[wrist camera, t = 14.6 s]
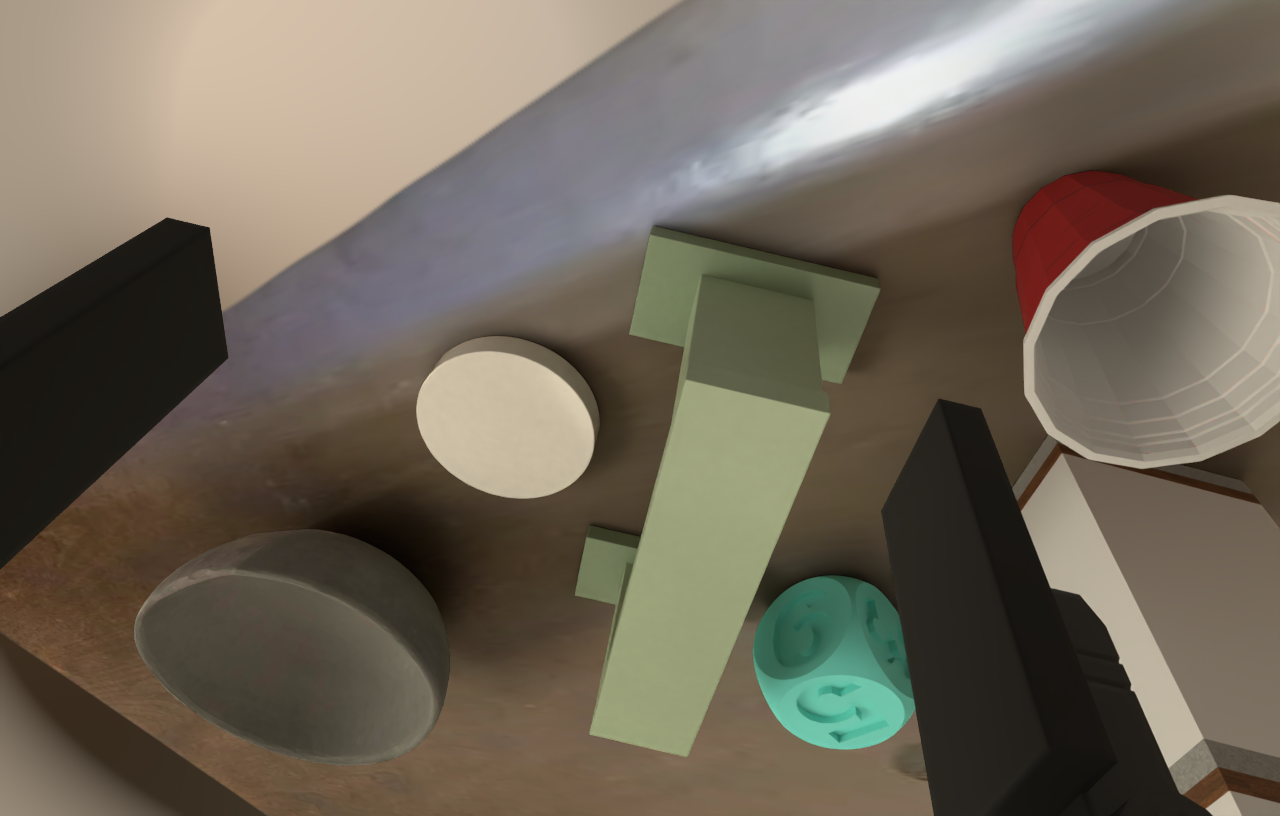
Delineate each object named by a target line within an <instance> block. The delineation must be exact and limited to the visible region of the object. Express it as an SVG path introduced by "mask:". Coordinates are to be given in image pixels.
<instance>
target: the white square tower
mask: <svg viewBox="0 0 1280 816" xmlns="http://www.w3.org/2000/svg"><path fill="white" fill-rule="evenodd" d="M1012 490H1013V492H1014V495H1015V497H1016V500H1017V503H1018V505H1019V508H1020V510H1021V513H1022V516H1023V518H1024V521H1025V523H1026V526H1027V528H1028V531H1029V534H1030V536H1031V539H1032V541H1033V544H1034V547H1035V549H1036V552H1037V554H1038V557H1039V559H1040V562H1041V565H1042V567H1043V570H1044V572H1045V575H1046V578H1047V580H1048V583H1049V585H1050V588H1053V589H1058V590H1062V591H1066V592H1070V593H1075V594H1079V595H1080V596H1081V597H1082V598H1083V599H1084V600H1085V602H1086V603H1087V604H1088V605H1089V606H1090V608H1091V609H1092V610H1093V611H1094V612H1095V614H1096V615H1097V616H1098V617H1099V618H1100V620H1101V621H1102V622H1103V623H1104V624H1105V626H1106V627H1107V630H1108V632H1109V634H1110V637H1111V639H1112V641H1113V643H1114V646H1115V648H1116V650H1117V652H1118V655H1119V657H1120V659H1119V664H1123V666H1124V668H1125V671H1126V673H1127V675H1128V677H1129V680H1130V682H1131V684H1132V685H1131V691H1135V693H1136V696H1137V698H1138V700H1139V702H1140V705H1141V707H1142V709H1143V712H1144V714H1145V716H1146V718H1147V721H1148V723H1149V725H1150V728H1151V730H1152V732H1153V734H1154V737H1155V739H1156V741H1157V743H1158V746H1159V748H1160V750H1161V753H1162V755H1163V757H1164V759H1165V762H1166V764H1167V766H1168V768H1169V771H1170V773H1171V775H1172V778H1173V780H1174V782H1175V784H1176V787H1177V789H1178V791H1179V793H1180V794H1183V795H1184V796H1186V797H1187V798H1189V799H1191V800H1192V801H1194V802H1195V803H1197V804H1198V805H1200V806H1202V807H1203V808H1205V809H1206V810H1208V811H1209V812H1210V813H1211V814H1212V815H1213V816H1280V529H1279V527H1278V526H1277V525H1276V523H1275V522H1274V521H1273V519H1272V518H1271V517H1270V515H1269V514H1268V513H1267V512H1266V510H1265V509H1264V508H1263V506H1262V505H1261V504H1260V502H1259V501H1258V500H1257V498H1256V497H1255V496H1254V495H1253V493H1252V492H1251V491H1250V489H1249V488H1248V487H1247V485H1246V484H1245V483H1244V481H1241V480H1237V479H1234V478H1230V477H1226V476H1222V475H1218V474H1214V473H1211V472H1207V471H1203V470H1199V469H1195V468H1192V467H1188V466H1184V465H1180V464H1175V465H1167V466H1160V467H1152V468H1145V469H1139V468H1134V467H1128V466H1122V465H1117V464H1111V463H1105V462H1100V461H1094V460H1088V459H1087V458H1085V457H1084V456H1082V455H1080V454H1079V453H1077V452H1076V451H1074V450H1072V449H1071V448H1069V447H1068V446H1066V445H1064V444H1063V443H1061V442H1060V441H1058V440H1056V439H1055V438H1053V437H1052V436H1050V435H1049V434H1048V436H1047V437H1046V439H1045V440H1044V442H1043V443H1042V445H1041V446H1040V448H1039V449H1038V451H1037V452H1036V454H1035V455H1034V457H1033V458H1032V460H1031V461H1030V462H1029V464H1028V465H1027V467H1026V468H1025V470H1024V471H1023V473H1022V474H1021V476H1020V477H1019V479H1018V480H1017V482H1016V483H1015V485H1014V486H1013V488H1012Z"/></svg>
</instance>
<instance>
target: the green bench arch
mask: <svg viewBox="0 0 1280 816" xmlns="http://www.w3.org/2000/svg"><path fill="white" fill-rule="evenodd" d="M880 290H881V287H880V283H879V279H878V278H873V277H869V276H865V275H861V274H856V273H852V272H848V271H844V270H839V269H835V268H831V267H827V266H822V265H818V264H814V263H810V262H805V261H801V260H797V259H793V258H788V257H784V256H780V255H776V254H771V253H767V252H763V251H758V250H754V249H750V248H746V247H741V246H737V245H733V244H729V243H724V242H720V241H716V240H712V239H707V238H703V237H699V236H695V235H690V234H686V233H682V232H678V231H673V230H669V229H665V228H660V227H656V226H653V227H652V230H651V233H650V237H649V242H648V247H647V252H646V256H645V261H644V266H643V271H642V275H641V280H640V285H639V290H638V294H637V299H636V304H635V309H634V313H633V318H632V323H631V328H630V332H629V334H630V335H634V336H638V337H643V338H647V339H651V340H655V341H660V342H664V343H668V344H672V345H677V346H681V347H684V352H683V358H682V364H681V369H680V375H679V381H678V387H677V393H676V399H675V405H674V410H673V416H672V422H671V427H670V430H669V434H668V438H667V442H666V445H665V449H664V453H663V457H662V460H661V464H660V468H659V471H658V475H657V479H656V483H655V486H654V490H653V494H652V497H651V501H650V505H649V509H648V512H647V516H646V520H645V523H644V527H643V531H642V535H641V537H638V536H634V535H630V534H625V533H621V532H617V531H613V530H608V529H604V528H600V527H596V526H591V525H590V526H589V529H588V533H587V537H586V541H585V546H584V551H583V555H582V560H581V565H580V570H579V574H578V579H577V584H576V589H575V593H574V595H576V596H580V597H585V598H589V599H593V600H597V601H602V602H606V603H610V604H614V605H616V607H615V612H614V617H613V621H612V626H611V631H610V636H609V641H608V646H607V651H606V656H605V661H604V666H603V671H602V676H601V680H600V685H599V690H598V695H597V700H596V705H595V709H594V713H593V718H592V723H591V728H590V733H589V734H590V735H595V736H599V737H603V738H607V739H612V740H616V741H620V742H624V743H629V744H633V745H637V746H642V747H646V748H650V749H654V750H659V751H663V752H667V753H672V754H676V755H680V756H684V757H688V755H689V752H690V750H691V747H692V745H693V743H694V740H695V738H696V735H697V733H698V731H699V728H700V726H701V723H702V721H703V719H704V716H705V714H706V711H707V709H708V707H709V704H710V702H711V699H712V697H713V695H714V692H715V690H716V687H717V685H718V683H719V680H720V678H721V675H722V673H723V671H724V668H725V666H726V663H727V661H728V659H729V656H730V654H731V651H732V649H733V647H734V644H735V642H736V639H737V637H738V635H739V632H740V630H741V627H742V625H743V623H744V620H745V618H746V615H747V613H748V611H749V608H750V606H751V603H752V601H753V599H754V596H755V594H756V591H757V589H758V587H759V584H760V582H761V579H762V577H763V575H764V572H765V570H766V567H767V565H768V563H769V560H770V558H771V555H772V553H773V551H774V548H775V546H776V543H777V541H778V539H779V536H780V534H781V531H782V529H783V526H784V524H785V522H786V519H787V517H788V514H789V512H790V510H791V507H792V505H793V502H794V500H795V498H796V495H797V493H798V490H799V488H800V486H801V483H802V481H803V478H804V476H805V474H806V471H807V469H808V466H809V464H810V462H811V459H812V457H813V454H814V452H815V450H816V447H817V445H818V442H819V440H820V438H821V435H822V433H823V430H824V428H825V426H826V423H827V421H828V418H829V416H830V405H829V396H828V393H826V392H823V387H822V380H826V381H830V382H834V383H839V384H842V381H843V379H844V377H845V374H846V372H847V369H848V367H849V365H850V362H851V360H852V357H853V355H854V353H855V350H856V348H857V345H858V343H859V341H860V338H861V336H862V333H863V331H864V329H865V326H866V324H867V321H868V319H869V316H870V314H871V312H872V309H873V307H874V304H875V302H876V300H877V297H878V295H879V292H880Z"/></svg>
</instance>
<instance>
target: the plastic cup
mask: <svg viewBox="0 0 1280 816" xmlns="http://www.w3.org/2000/svg"><path fill="white" fill-rule="evenodd" d="M1013 261H1014V266H1015V271H1016V288H1017V293H1018V298H1019V303H1020V308H1021V313H1022V318H1023V323H1024V328H1025V333H1026V335H1025V337H1024V340H1023V353H1024V394H1025V396H1026V398H1027V400H1028V401H1029V403H1030V405H1031V406H1032V408H1033V410H1034V412H1035V413H1036V415H1037V417H1038V418H1039V420H1040V422H1041V424H1042V425H1043V427H1044V429H1045V430H1046V432H1047V434H1049V435H1050V436H1052V437H1053V438H1055V439H1056V440H1058V441H1060V442H1061V443H1063V444H1064V445H1066V446H1068V447H1069V448H1071V449H1072V450H1074V451H1076V452H1077V453H1079V454H1080V455H1082V456H1084V457H1085V458H1087V459H1088V460H1094V461H1100V462H1105V463H1111V464H1117V465H1122V466H1128V467H1134V468H1139V469H1145V468H1152V467H1160V466H1167V465H1175V464H1183V463H1190V462H1198V461H1203V460H1205V459H1207V458H1210V457H1212V456H1214V455H1217V454H1219V453H1222V452H1224V451H1226V450H1229V449H1231V448H1233V447H1236V446H1238V445H1241V444H1243V443H1245V442H1248V441H1250V440H1252V439H1255V438H1257V437H1260V436H1261V435H1263V434H1264V433H1265V432H1267V431H1268V430H1269V429H1270V428H1272V427H1273V426H1274V425H1275V424H1277V423H1278V422H1279V421H1280V203H1275V202H1269V201H1264V200H1258V199H1252V198H1246V197H1240V196H1234V195H1220V196H1215V197H1210V198H1205V199H1200V200H1199V199H1196V198H1193V197H1190V196H1187V195H1184V194H1181V193H1178V192H1175V191H1172V190H1169V189H1166V188H1163V187H1160V186H1157V185H1153V184H1148V183H1142V182H1139V181H1137V180H1135V179H1132V178H1130V177H1127V176H1125V175H1120V174H1114V173H1109V172H1103V171H1092V170H1090V171H1085V172H1080V173H1075V174H1070V175H1065V176H1063V177H1061V178H1059V179H1058V180H1056V181H1054V182H1052V183H1050V184H1049V185H1047V186H1045V187H1043V188H1041V189H1040V190H1039V191H1038V192H1037V193H1036V195H1035V196H1034V197H1033V198H1032V199H1031V200H1030V201H1029V202H1028V203H1027V204H1026V205H1025V206H1024V207H1023V209H1022V211H1021V214H1020V216H1019V218H1018V220H1017V223H1016V225H1015V227H1014V233H1013Z"/></svg>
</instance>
